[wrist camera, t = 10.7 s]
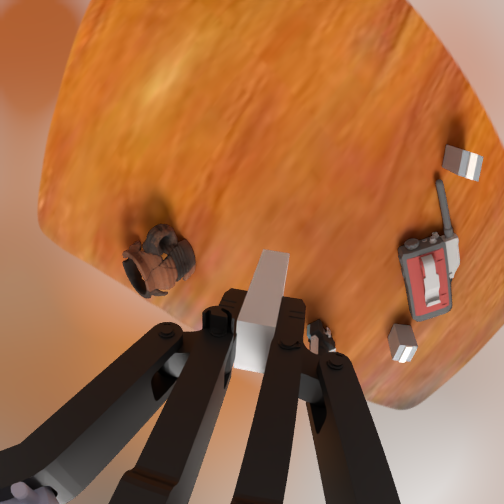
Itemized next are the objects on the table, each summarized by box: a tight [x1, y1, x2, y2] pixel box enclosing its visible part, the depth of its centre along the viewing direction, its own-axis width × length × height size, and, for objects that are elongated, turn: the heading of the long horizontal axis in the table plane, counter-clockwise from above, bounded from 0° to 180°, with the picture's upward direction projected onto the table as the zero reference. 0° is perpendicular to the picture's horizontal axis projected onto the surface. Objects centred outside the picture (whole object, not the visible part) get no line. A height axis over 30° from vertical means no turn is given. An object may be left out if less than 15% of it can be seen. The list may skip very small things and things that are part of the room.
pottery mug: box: [123, 224, 196, 298], centre depth 43 cm, size 12×10×8 cm
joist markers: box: [388, 144, 483, 362], centre depth 36 cm, size 30×3×5 cm, turn 175°
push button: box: [307, 319, 336, 356], centre depth 42 cm, size 7×5×10 cm
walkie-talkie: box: [398, 179, 460, 322], centre depth 36 cm, size 9×4×20 cm
